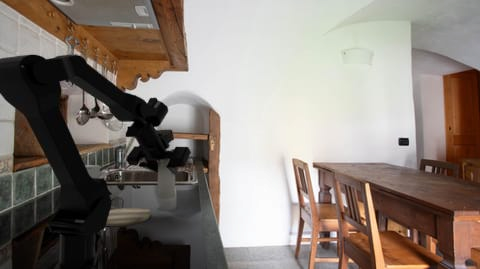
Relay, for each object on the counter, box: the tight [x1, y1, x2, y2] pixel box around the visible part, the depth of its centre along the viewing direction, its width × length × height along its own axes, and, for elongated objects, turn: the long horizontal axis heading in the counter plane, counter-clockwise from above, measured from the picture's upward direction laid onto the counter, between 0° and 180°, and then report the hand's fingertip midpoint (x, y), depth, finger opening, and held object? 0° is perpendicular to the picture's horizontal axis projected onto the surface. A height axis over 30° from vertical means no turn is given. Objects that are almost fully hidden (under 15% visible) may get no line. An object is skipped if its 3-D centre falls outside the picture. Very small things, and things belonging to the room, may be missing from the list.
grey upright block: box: [158, 187, 177, 212], centre depth 90 cm, size 6×6×7 cm
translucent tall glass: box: [157, 158, 176, 200], centre depth 79 cm, size 5×5×14 cm
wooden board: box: [106, 207, 152, 227], centre depth 78 cm, size 16×16×1 cm
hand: (168, 173), depth 81 cm, fingers closed on translucent tall glass, 5 cm apart
